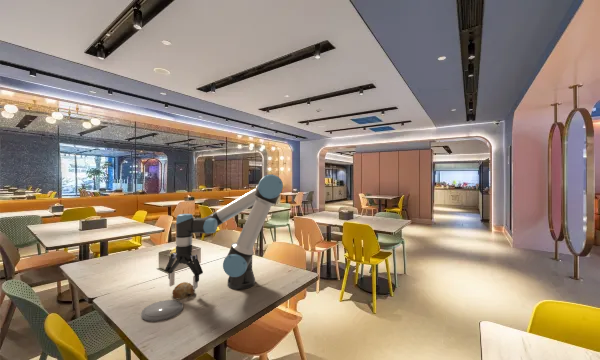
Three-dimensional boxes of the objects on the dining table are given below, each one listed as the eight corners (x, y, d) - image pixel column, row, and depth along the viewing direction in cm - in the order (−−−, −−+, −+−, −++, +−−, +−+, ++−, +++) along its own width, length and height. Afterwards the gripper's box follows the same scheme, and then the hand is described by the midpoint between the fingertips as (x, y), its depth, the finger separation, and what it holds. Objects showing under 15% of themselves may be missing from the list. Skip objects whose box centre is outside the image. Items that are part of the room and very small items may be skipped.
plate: (190, 304, 117) (190, 301, 117) (164, 323, 101) (164, 320, 101) (161, 300, 121) (161, 297, 121) (131, 318, 105) (131, 315, 105)
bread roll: (177, 308, 121) (181, 295, 119) (166, 294, 126) (170, 281, 124) (195, 300, 129) (200, 287, 128) (184, 287, 134) (189, 275, 133)
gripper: (210, 244, 128) (209, 286, 128) (168, 241, 134) (167, 281, 134) (201, 248, 121) (200, 292, 121) (157, 244, 126) (156, 287, 126)
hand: (183, 286), depth 127 cm, fingers open, 13 cm apart
